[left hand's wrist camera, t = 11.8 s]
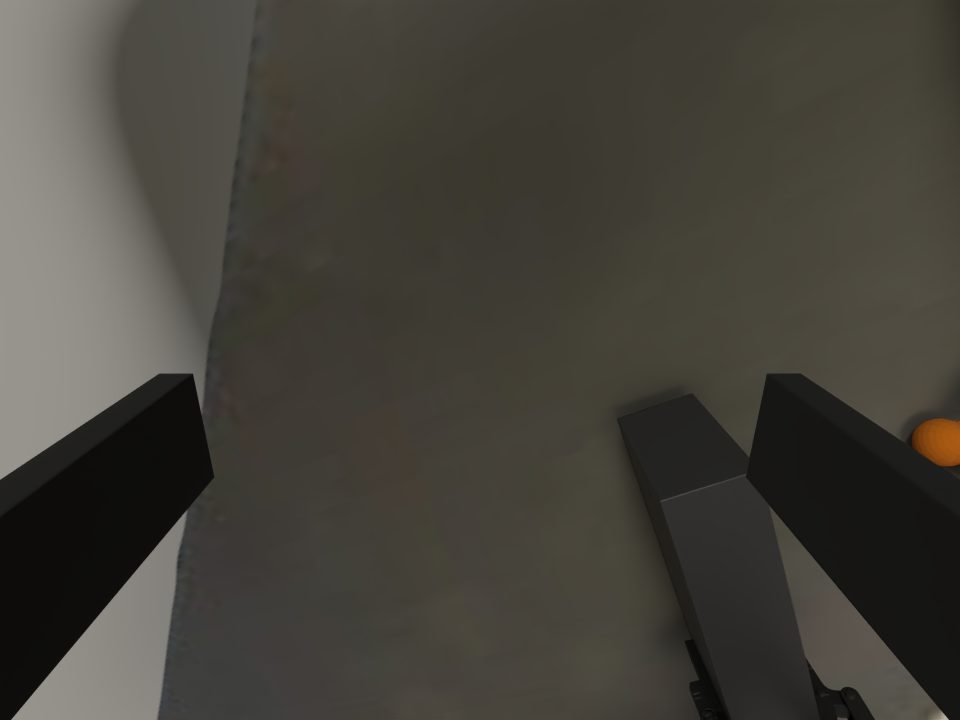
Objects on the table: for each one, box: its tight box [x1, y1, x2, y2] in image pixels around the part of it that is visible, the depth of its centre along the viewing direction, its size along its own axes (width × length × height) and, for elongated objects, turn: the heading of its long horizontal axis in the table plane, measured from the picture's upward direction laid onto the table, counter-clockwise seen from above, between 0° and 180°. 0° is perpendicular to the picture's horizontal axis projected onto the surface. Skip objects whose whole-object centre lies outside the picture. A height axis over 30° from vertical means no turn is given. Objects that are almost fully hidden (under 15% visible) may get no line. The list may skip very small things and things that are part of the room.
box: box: [617, 394, 820, 720], centre depth 41 cm, size 29×6×11 cm, turn 22°
